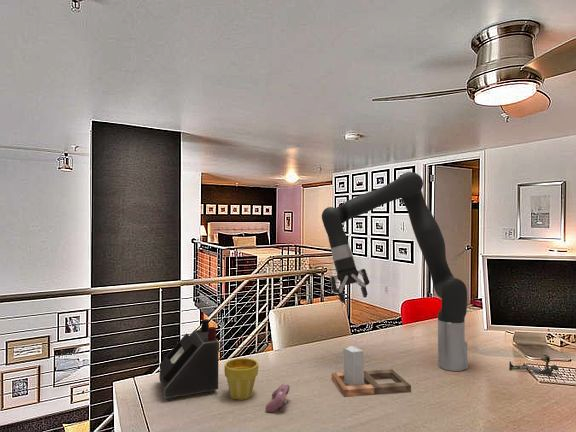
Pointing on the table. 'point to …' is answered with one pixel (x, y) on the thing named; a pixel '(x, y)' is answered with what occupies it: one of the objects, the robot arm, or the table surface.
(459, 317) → the robot arm
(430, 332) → the table surface
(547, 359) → the zombie figurine
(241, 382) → the plant pot
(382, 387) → the brown flat frame
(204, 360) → the voltmeter
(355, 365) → the skincare box
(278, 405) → the video game controller
